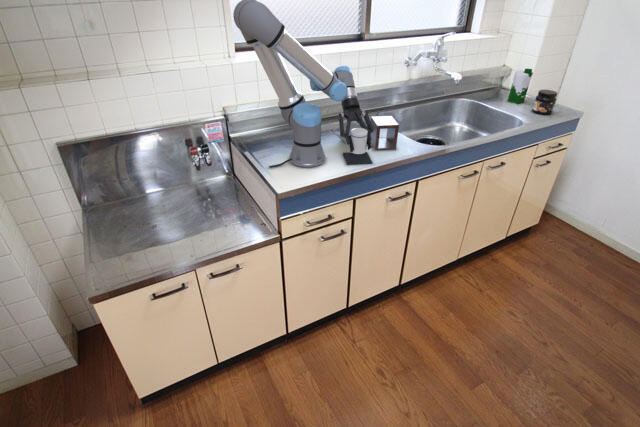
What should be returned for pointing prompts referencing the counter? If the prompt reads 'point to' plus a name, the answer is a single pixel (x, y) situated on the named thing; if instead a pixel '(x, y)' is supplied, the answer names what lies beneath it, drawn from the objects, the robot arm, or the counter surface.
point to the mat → (357, 158)
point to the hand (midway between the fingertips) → (361, 149)
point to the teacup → (352, 126)
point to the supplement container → (544, 102)
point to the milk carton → (520, 86)
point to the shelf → (392, 133)
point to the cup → (359, 140)
